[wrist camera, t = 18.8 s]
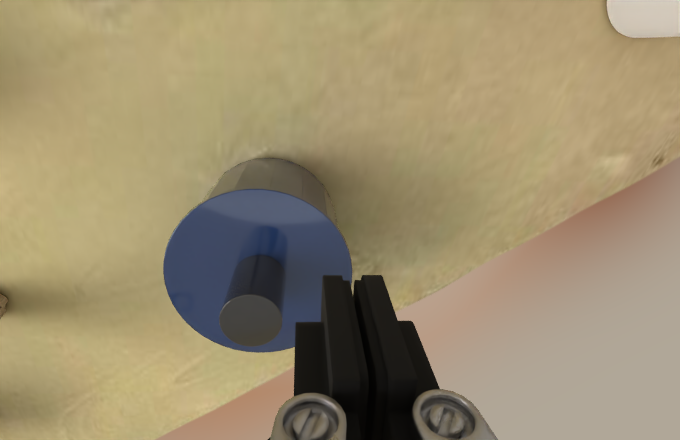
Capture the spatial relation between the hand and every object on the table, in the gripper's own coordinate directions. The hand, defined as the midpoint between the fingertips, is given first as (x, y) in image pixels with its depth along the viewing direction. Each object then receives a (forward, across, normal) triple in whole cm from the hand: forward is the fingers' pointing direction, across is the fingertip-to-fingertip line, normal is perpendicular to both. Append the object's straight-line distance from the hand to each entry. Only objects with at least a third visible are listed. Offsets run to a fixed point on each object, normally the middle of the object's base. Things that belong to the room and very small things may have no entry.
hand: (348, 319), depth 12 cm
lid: (+16, +4, +8) cm, 18 cm away
